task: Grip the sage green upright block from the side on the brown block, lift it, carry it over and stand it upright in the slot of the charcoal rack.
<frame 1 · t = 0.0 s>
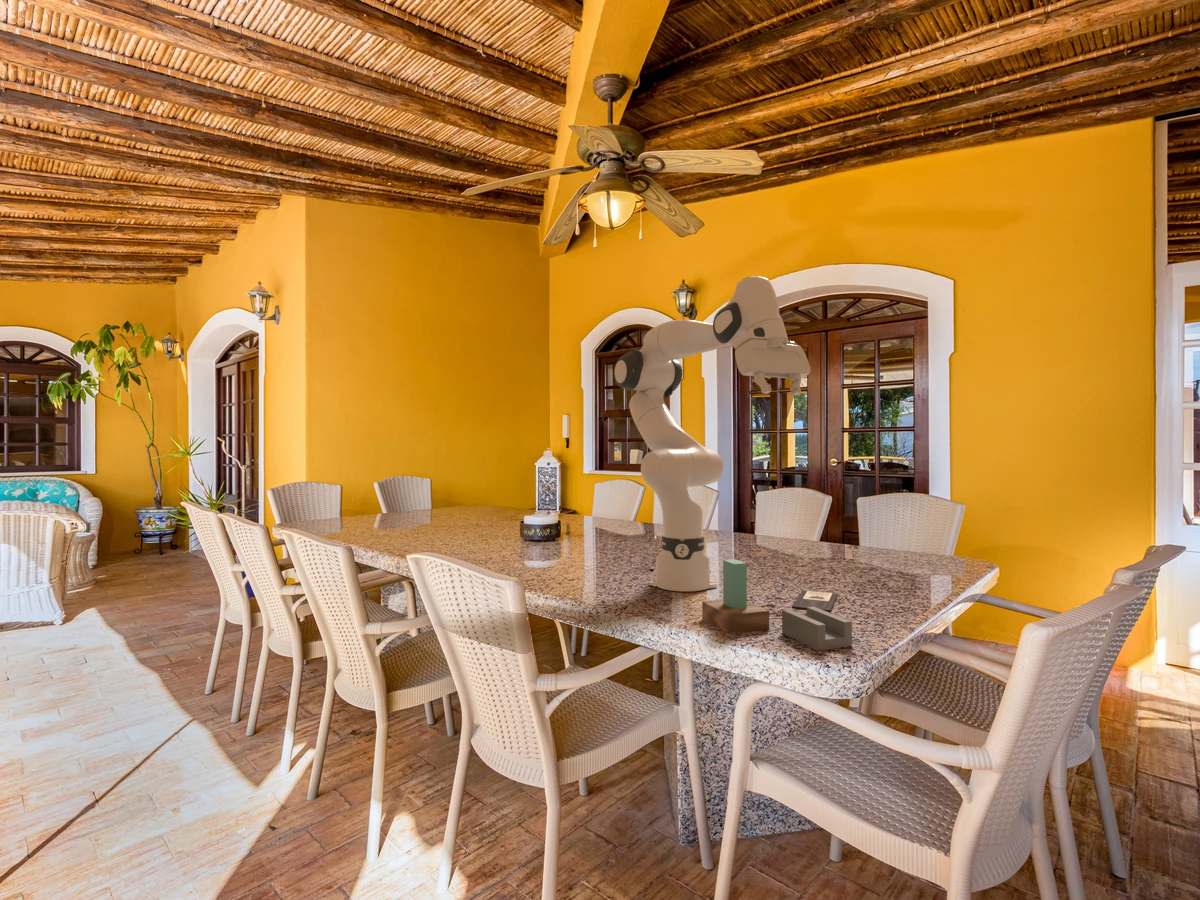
hand: (782, 393, 146), 52 cm above the table, tool tilted 20°, fingers open, 8 cm apart
sage green upright block: (734, 606, 142), point 4 cm above the table, touching brown block
chocolate bar: (815, 604, 162), on the table
rack: (815, 639, 131), on the table
brown block: (734, 623, 142), on the table
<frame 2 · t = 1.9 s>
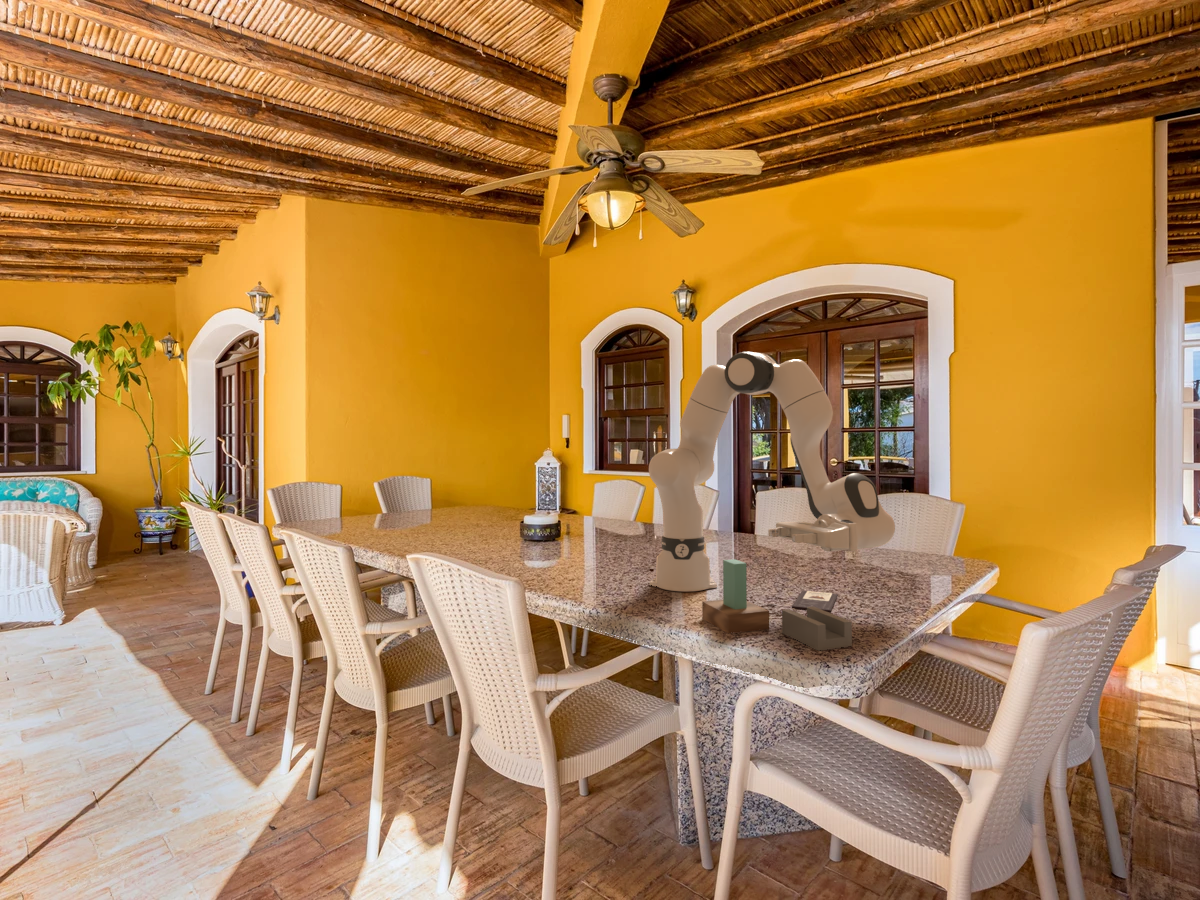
hand: (781, 535, 146), 19 cm above the table, tool horizontal, fingers open, 8 cm apart
nothing on the table moved.
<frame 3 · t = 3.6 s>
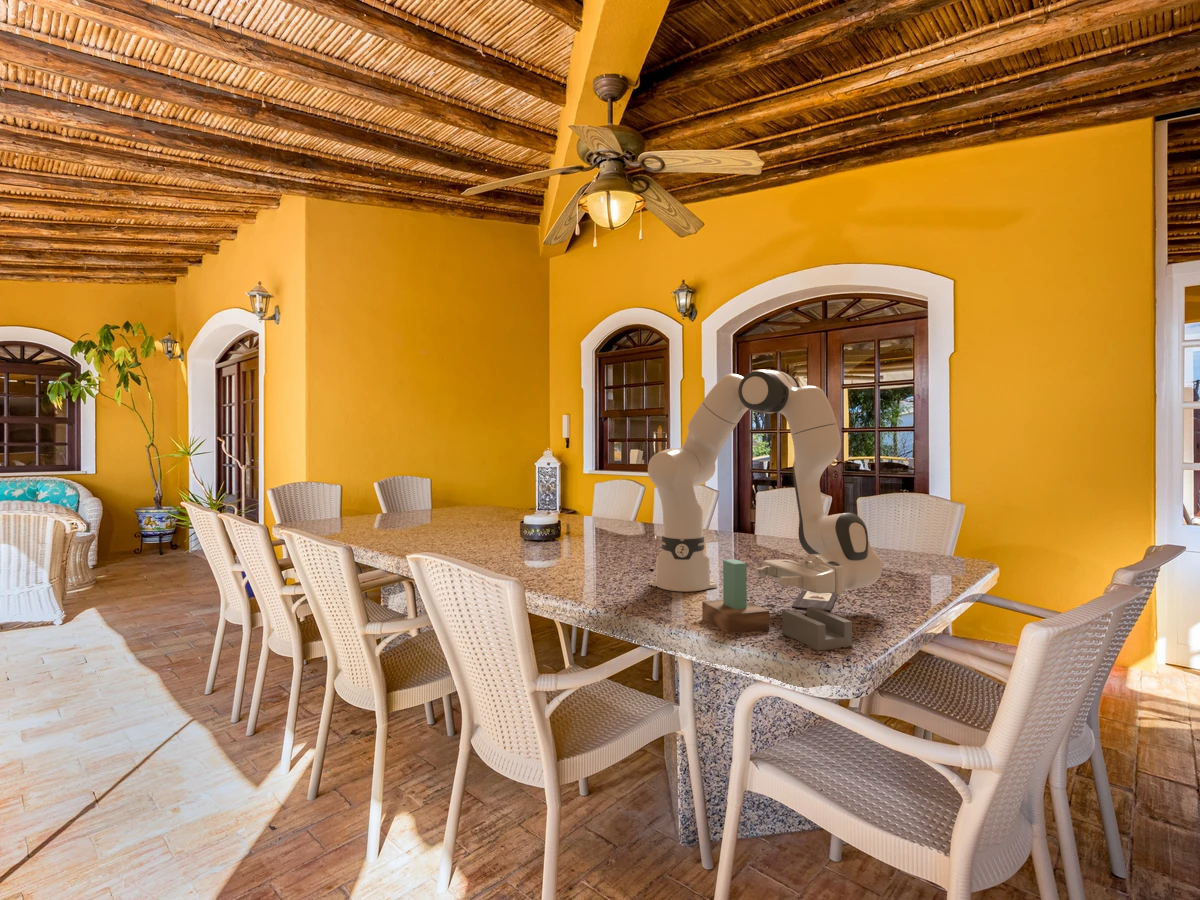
hand: (767, 576, 145), 10 cm above the table, tool horizontal, fingers open, 8 cm apart
nothing on the table moved.
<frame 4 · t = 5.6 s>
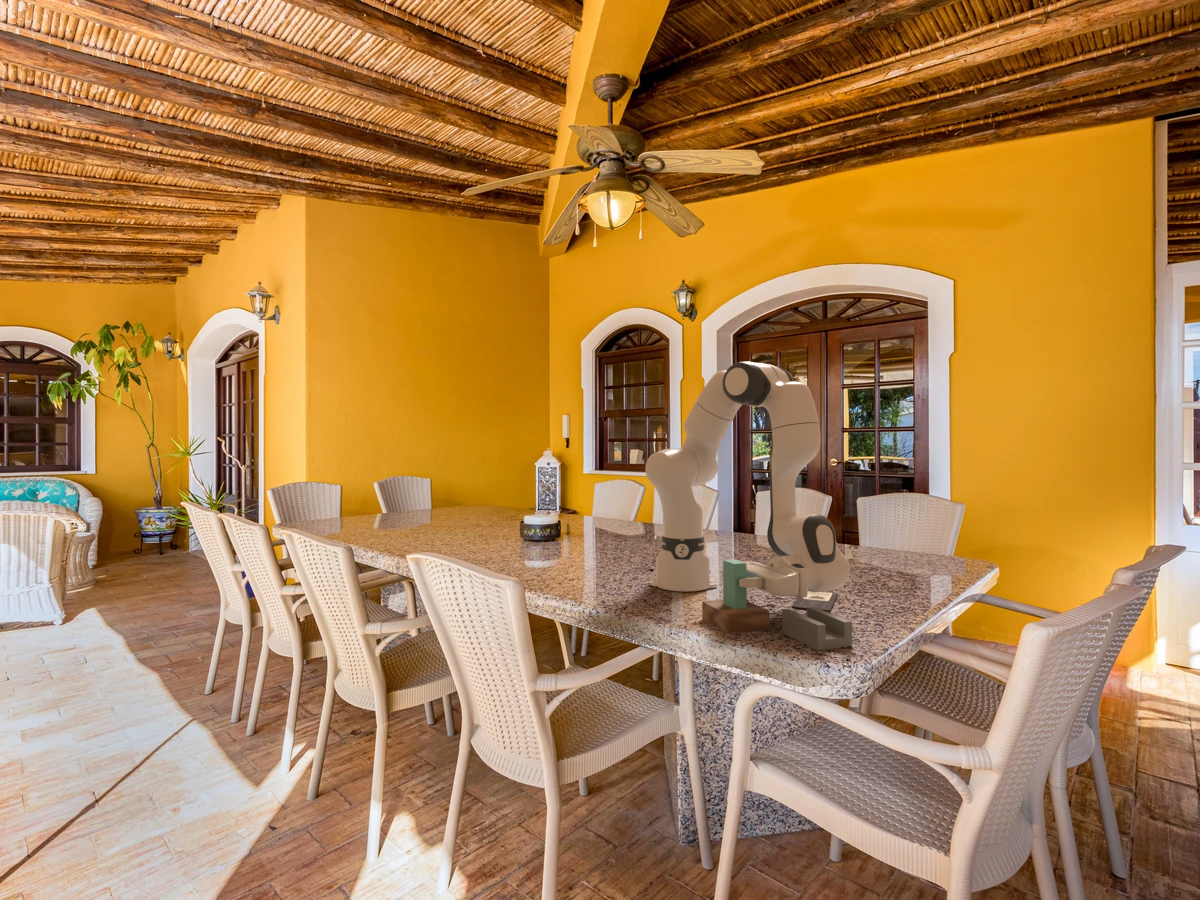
hand: (731, 579, 142), 10 cm above the table, tool horizontal, fingers closed on sage green upright block, 5 cm apart
sage green upright block: (734, 606, 142), point 4 cm above the table, touching brown block, gripper
everything else where it was.
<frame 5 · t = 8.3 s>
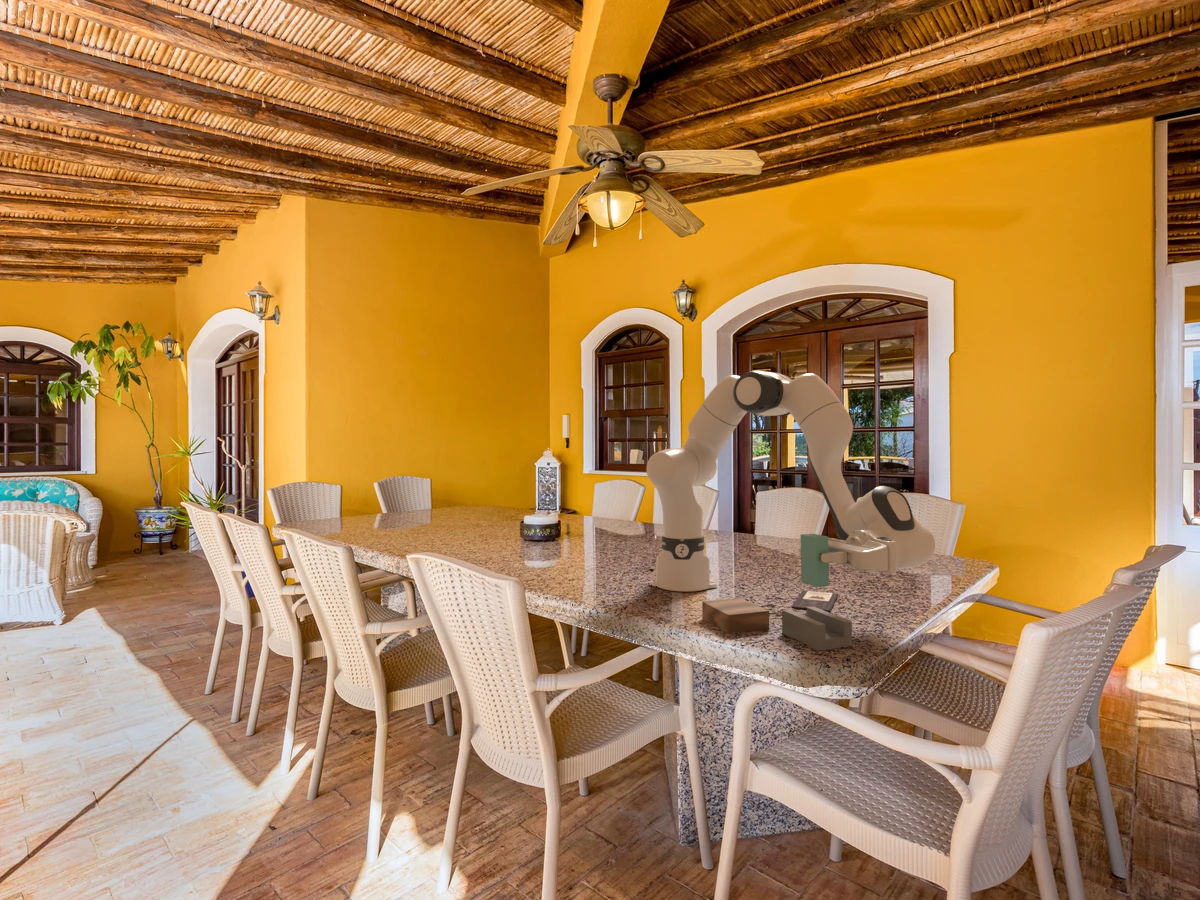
hand: (810, 555, 130), 17 cm above the table, tool horizontal, fingers closed on sage green upright block, 5 cm apart
sage green upright block: (814, 584, 131), point 11 cm above the table, touching gripper
everything else where it was.
when the fingers open (10 cm above the table, at t = 10.6 s): sage green upright block drops 1 cm, resting on rack.
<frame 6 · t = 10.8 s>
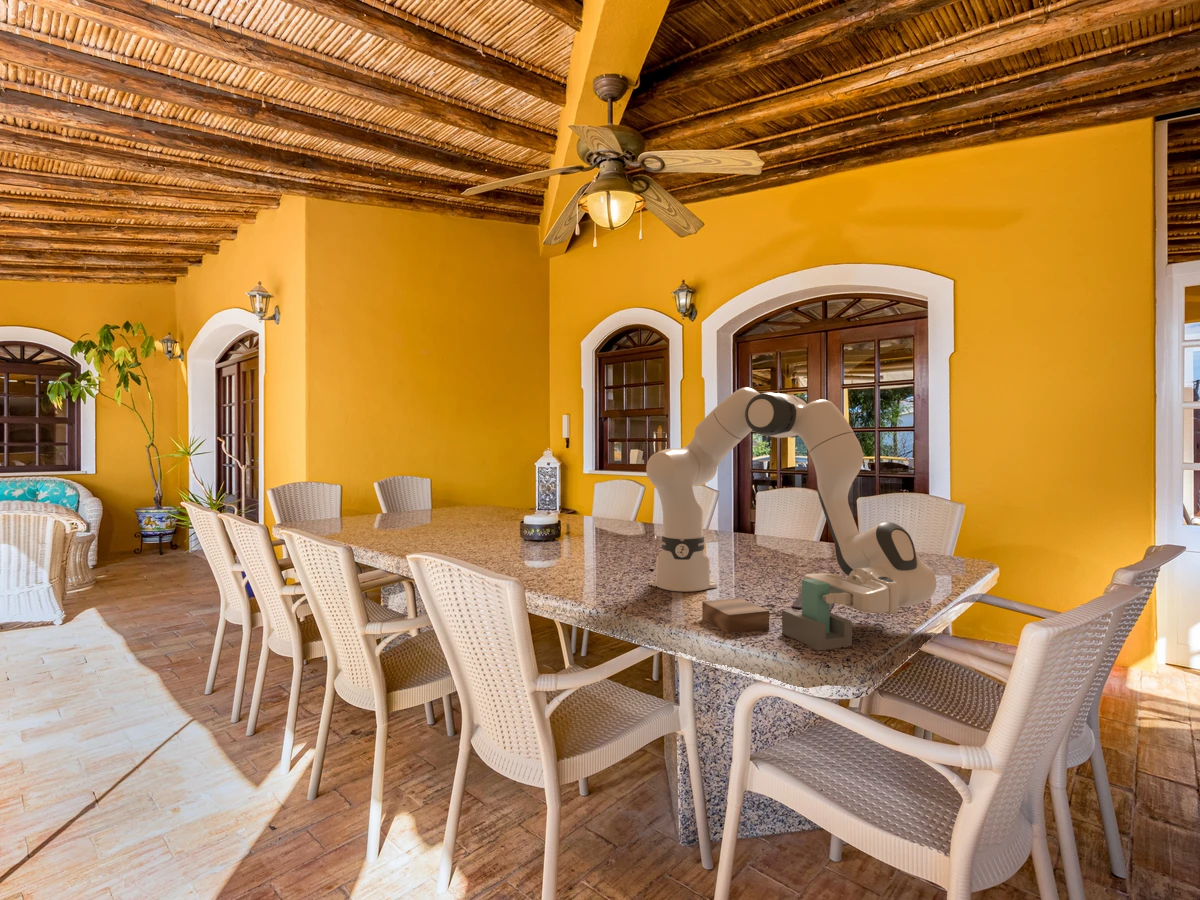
hand: (812, 594, 130), 10 cm above the table, tool horizontal, fingers open, 7 cm apart
sage green upright block: (815, 629, 131), point 2 cm above the table, touching rack
everything else where it was.
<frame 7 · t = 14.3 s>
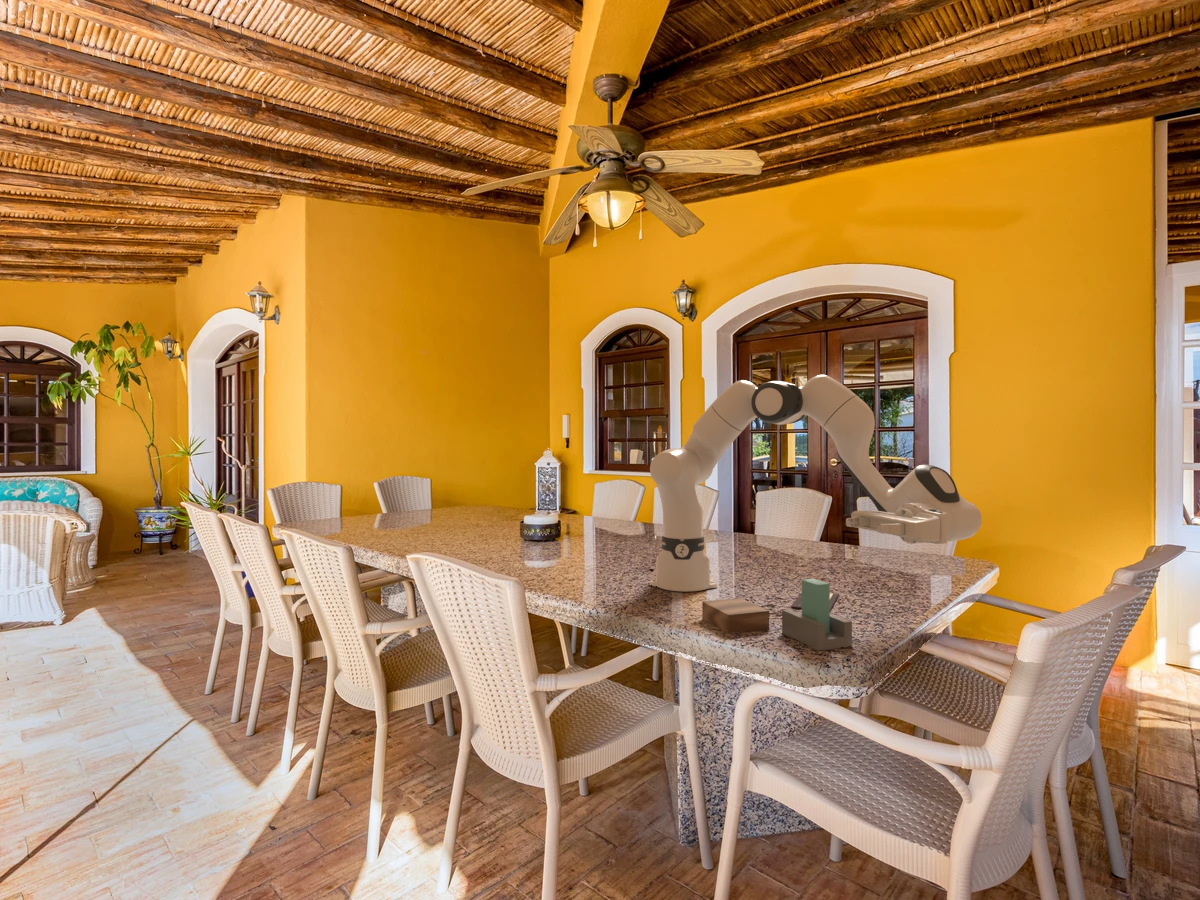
hand: (863, 525, 134), 23 cm above the table, tool horizontal, fingers open, 8 cm apart
nothing on the table moved.
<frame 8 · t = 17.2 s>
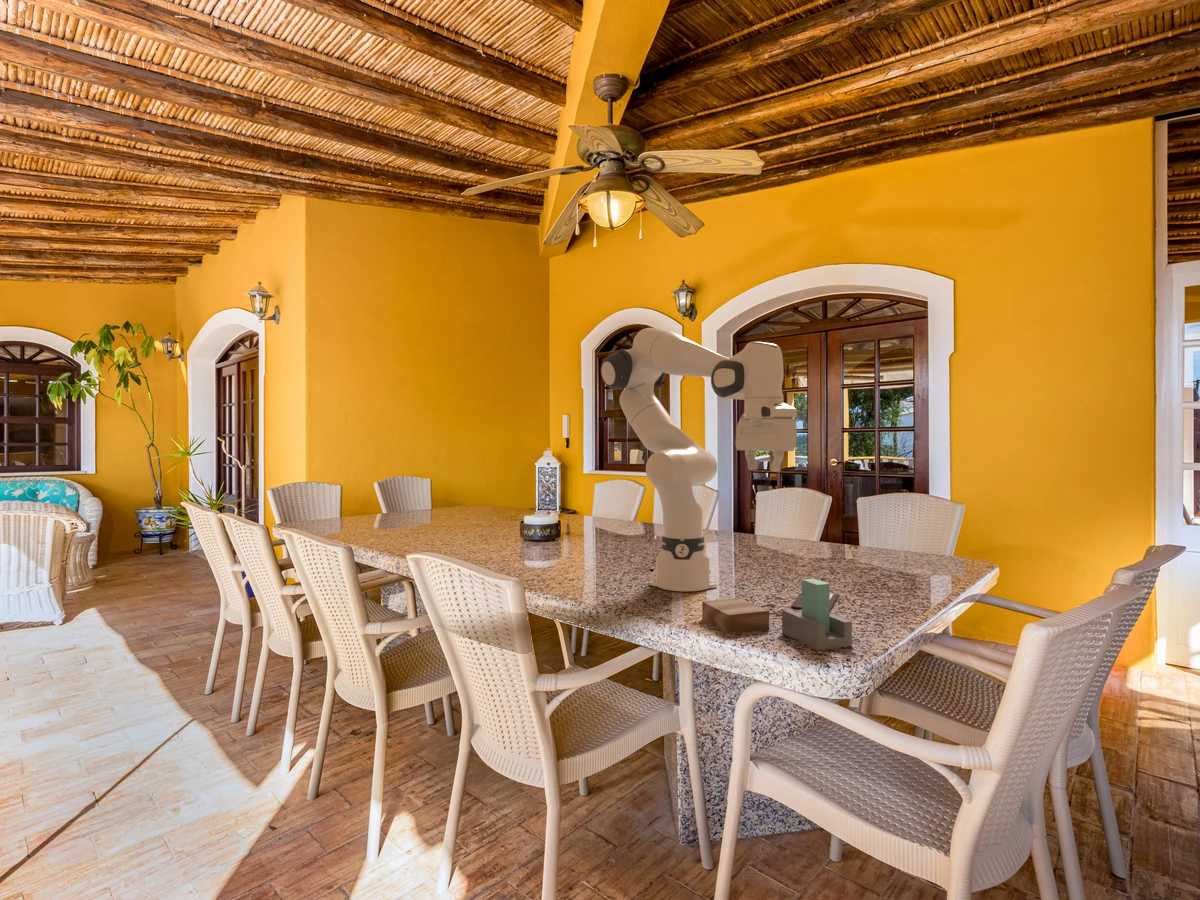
hand: (763, 470, 148), 34 cm above the table, tool pointing down, fingers open, 8 cm apart
nothing on the table moved.
at the end: sage green upright block 0.0 cm off-centre on the rack, point 2.0 cm above the rack's base; sage green upright block tilted 0°; the gripper is holding nothing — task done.
